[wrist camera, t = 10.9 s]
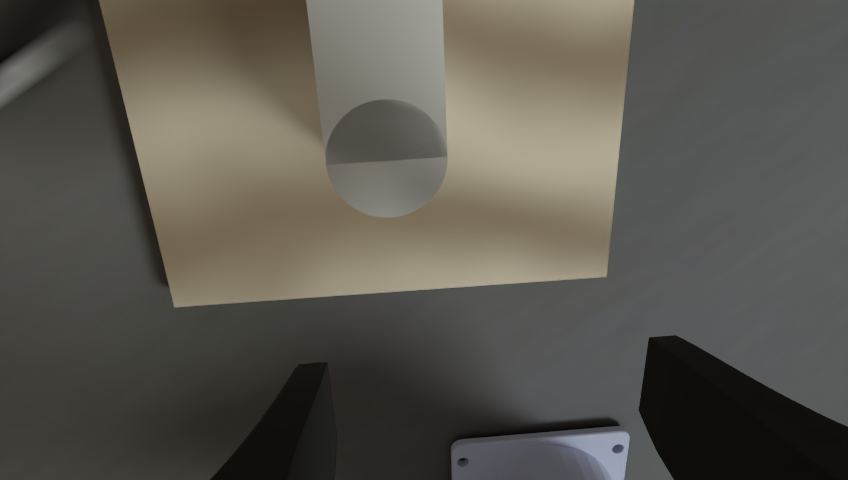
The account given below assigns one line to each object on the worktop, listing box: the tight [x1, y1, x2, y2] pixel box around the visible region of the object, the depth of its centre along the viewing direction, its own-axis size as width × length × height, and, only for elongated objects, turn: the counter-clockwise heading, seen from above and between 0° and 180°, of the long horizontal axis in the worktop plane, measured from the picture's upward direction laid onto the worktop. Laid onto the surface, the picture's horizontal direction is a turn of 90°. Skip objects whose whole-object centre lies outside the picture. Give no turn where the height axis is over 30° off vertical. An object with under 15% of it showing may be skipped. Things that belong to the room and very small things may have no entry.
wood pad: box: [99, 0, 634, 307], centre depth 18 cm, size 18×16×1 cm
